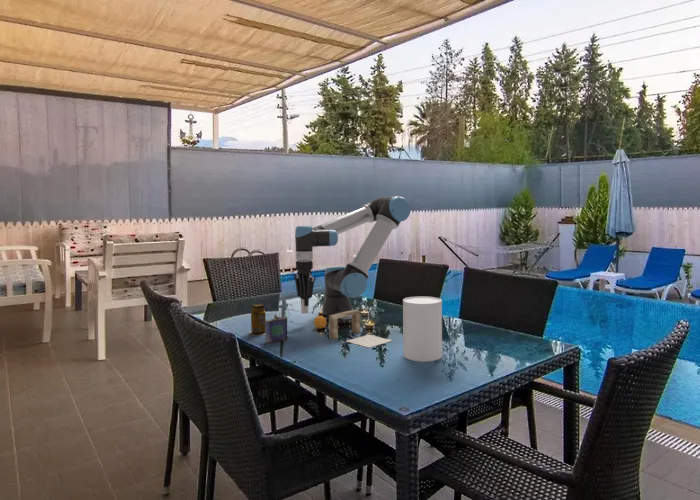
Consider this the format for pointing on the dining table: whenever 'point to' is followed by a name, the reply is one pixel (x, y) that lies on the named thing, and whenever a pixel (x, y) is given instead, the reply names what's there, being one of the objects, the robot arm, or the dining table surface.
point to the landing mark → (368, 341)
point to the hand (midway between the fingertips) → (304, 312)
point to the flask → (276, 329)
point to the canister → (422, 328)
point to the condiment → (258, 320)
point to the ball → (320, 322)
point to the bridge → (333, 318)
